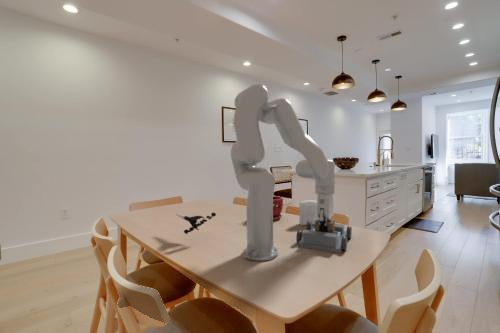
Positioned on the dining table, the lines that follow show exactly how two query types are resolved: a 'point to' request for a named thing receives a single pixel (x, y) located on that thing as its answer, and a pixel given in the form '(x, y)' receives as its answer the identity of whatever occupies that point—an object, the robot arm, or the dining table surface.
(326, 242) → the chassis
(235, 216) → the dining table surface
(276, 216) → the plant pot
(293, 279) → the dining table surface
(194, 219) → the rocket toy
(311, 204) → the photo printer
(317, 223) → the brown cardboard carton
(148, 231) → the dining table surface
